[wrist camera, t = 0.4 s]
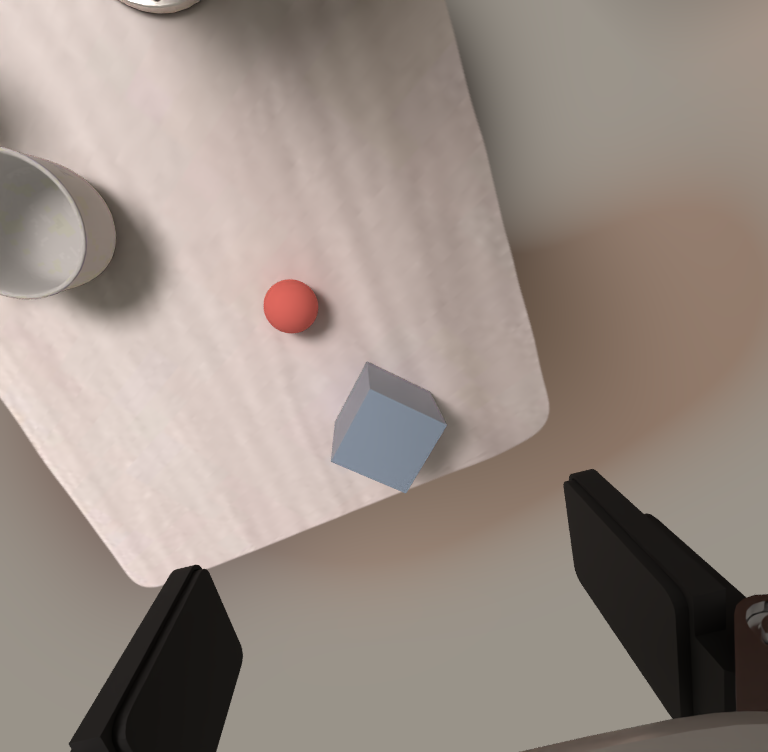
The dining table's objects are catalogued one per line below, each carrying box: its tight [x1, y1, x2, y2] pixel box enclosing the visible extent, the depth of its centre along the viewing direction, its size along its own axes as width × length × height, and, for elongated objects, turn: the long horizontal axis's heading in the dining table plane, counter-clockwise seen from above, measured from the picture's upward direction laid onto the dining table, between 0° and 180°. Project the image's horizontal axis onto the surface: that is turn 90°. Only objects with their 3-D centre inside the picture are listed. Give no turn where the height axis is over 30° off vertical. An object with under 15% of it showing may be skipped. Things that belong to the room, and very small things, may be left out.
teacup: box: [0, 147, 116, 299], centre depth 35 cm, size 14×11×8 cm
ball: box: [264, 280, 318, 333], centre depth 39 cm, size 5×5×5 cm
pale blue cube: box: [331, 362, 447, 493], centre depth 42 cm, size 8×8×9 cm
